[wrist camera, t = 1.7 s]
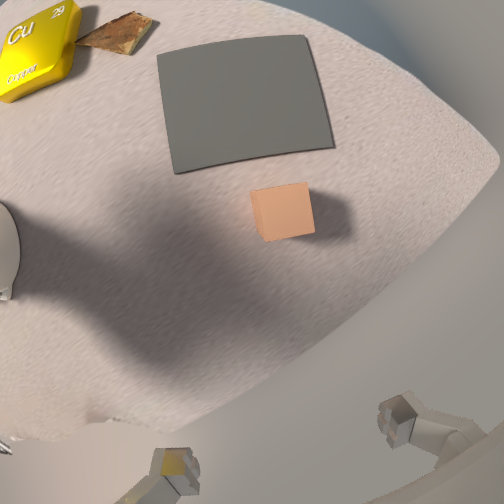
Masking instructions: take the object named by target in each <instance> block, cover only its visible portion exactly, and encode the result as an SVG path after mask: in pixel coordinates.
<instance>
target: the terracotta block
mask: <svg viewBox="0 0 504 504" xmlns="http://www.w3.org/2000/svg"><path fill="white" fill-rule="evenodd" d="M250 196H251V201H252V206H253V211H254V217H255V222H256V227H257V232H258V233H259V234H260V235H261V237H262V238H263V239H264V240H265V241H266V242H269V241H274V240H279V239H284V238H289V237H294V236H299V235H304V234H309V233H314V232H315V227H314V220H313V214H312V208H311V202H310V196H309V190H308V184H307V182H304V183H297V184H290V185H284V186H278V187H272V188H267V189H261V190H256V191H250Z"/></svg>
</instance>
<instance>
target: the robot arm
mask: <svg viewBox="0 0 504 504" xmlns="http://www.w3.org/2000/svg"><path fill="white" fill-rule="evenodd" d="M19 262H20V244H19V237H18V233H17V229H16V226H15V223H14V220H13V218H12V216H11V214H10V213H9V211H8V210H7V209H6V207H5V206H4V205H2V204H1V203H0V300H9V299H10V298H11V296H12V284H13V281H14V279H15V277H16V274H17V271H18V268H19ZM379 411H380V413H379V415H378V417H377V422H378V427H379V429H380V431H381V433H382V434H385V435H387V439H386V440H387V442H388V444H389V445H390V447H391V448H392V450H393V449H395V448H397V447H400V446H402V445H404V444H406V443H408V442H409V443H410V444H412V445H414V446H416V447H418V448H421V449H423V450H425V451H427V452H430V453H432V454H434V455H436V456H439V458H438V460H437V462H436V464H435V466H434V468H435V470H434V471H432V472H430V473H428V474H427V475H425V476H423V477H421V478H419V479H417V480H416V481H414V482H411V483H410V484H408V485H406V486H403V487H401V488H399V489H398V490H395V491H393V492H391V493H388V494H386V495H384V496H381V497H379V498H376V499H374V500H372V501H369V502H367V503H364V504H504V421H503V422H502V423H501V424H499V425H498V426H497V427H496V428H494V429H493V430H492V431H491V432H489V433H488V434H486V433H485V432H484V431H483V430H482V429H481V428H480V427H479V426H478V425H477V424H476V423H475V422H474V420H472V419H468V418H464V417H460V416H455V415H451V414H447V413H443V412H440V411H436V410H432V409H431V410H428V409H427V408H426V407H425V406H424V405H423V404H422V402H421V401H420V400H419V399H418V398H417V397H416V396H415V395H414V393H412V391H407V392H405V393H403V394H401V395H398V396H396V397H393V398H391V399H389V400H386V401H384V402H382V403H380V404H379ZM192 454H193V452H192V450H191V448H190V447H187V448H156V449H155V450H154V454H153V458H152V462H151V468H150V472H149V476H145V477H144V478H143V479H141V480H140V481H139V482H138V483H137V484H136V485H135V486H134V487H133V488H132V489H130V490H129V491H128V492H127V493H126V494H125V495H124V496H123V497H121V498H120V499H119V500H118V501H117V502H115V503H114V504H176V502H177V501H178V500H179V498H180V496H191V495H199V489H200V483H199V482H198V480H197V479H198V477H199V476H200V466H199V463H198V460H197V458H196V457H194V456H192Z"/></svg>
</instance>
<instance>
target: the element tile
mask: <svg viewBox="0 0 504 504" xmlns="http://www.w3.org/2000/svg"><path fill="white" fill-rule="evenodd" d="M81 17H82V10H81V9H80V8H79V7H78V5H77V4H76V3H75V2H74V0H65V1H63V2H60V3H58V4H56V5H54V6H52V7H50V8H48V9H46V10H44V11H42V12H40V13H38V14H36V15H34V16H32V17H31V18H29V19H27V20H25V21H23V22H22V23H20V24H18V25H17V26H15V27H14V28H13V29H11V30H10V31H9V33H8V34H7V36H6V39H5V41H4V45H3V48H2V52H1V55H0V101H2V102H5V103H12V102H14V101H16V100H18V99H20V98H22V97H24V96H26V95H28V94H30V93H32V92H34V91H37V90H39V89H41V88H43V87H46V86H48V85H51V84H53V83H56V82H58V81H60V80H62V79H63V78H65V77H66V76H67V75H68V74H69V72H70V70H71V68H72V65H73V58H74V52H75V46H76V43H74V42H75V41H77V35H78V31H79V26H80V22H81Z"/></svg>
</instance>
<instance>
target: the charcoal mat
mask: <svg viewBox="0 0 504 504" xmlns="http://www.w3.org/2000/svg"><path fill="white" fill-rule="evenodd" d="M157 63H158V72H159V80H160V88H161V95H162V102H163V109H164V116H165V123H166V129H167V135H168V141H169V147H170V153H171V158H172V164H173V169H174V174H178V173H182V172H186V171H191V170H195V169H200V168H204V167H209V166H214V165H219V164H224V163H229V162H234V161H240V160H245V159H251V158H257V157H263V156H269V155H275V154H282V153H289V152H296V151H304V150H312V149H320V148H329V147H333V142H332V137H331V133H330V128H329V124H328V119H327V115H326V111H325V106H324V102H323V98H322V94H321V90H320V87H319V83H318V79H317V76H316V72H315V68H314V65H313V62H312V58H311V55H310V51H309V48H308V45H307V42H306V39H305V36H304V35H281V36H265V37H253V38H243V39H235V40H228V41H221V42H215V43H209V44H203V45H198V46H193V47H188V48H184V49H179V50H175V51H171V52H167V53H163V54H159V55H157Z"/></svg>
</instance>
